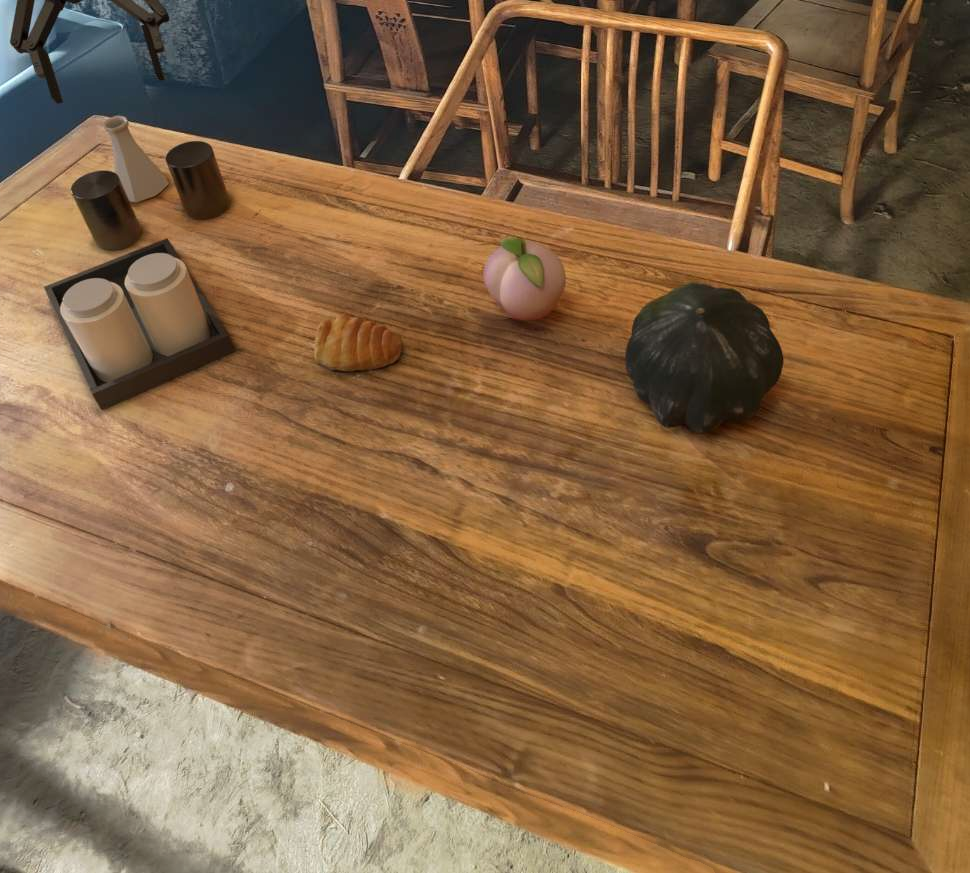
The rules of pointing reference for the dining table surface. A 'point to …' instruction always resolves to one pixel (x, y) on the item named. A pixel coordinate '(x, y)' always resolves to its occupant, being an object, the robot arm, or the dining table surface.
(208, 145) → the dark brown cylinder
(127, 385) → the black tray
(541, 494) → the dining table surface
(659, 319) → the squash
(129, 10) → the robot arm
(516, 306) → the decorative fruit
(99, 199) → the dark brown cylinder
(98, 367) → the cylinder
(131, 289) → the white shaker
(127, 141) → the flask
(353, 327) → the pastry
